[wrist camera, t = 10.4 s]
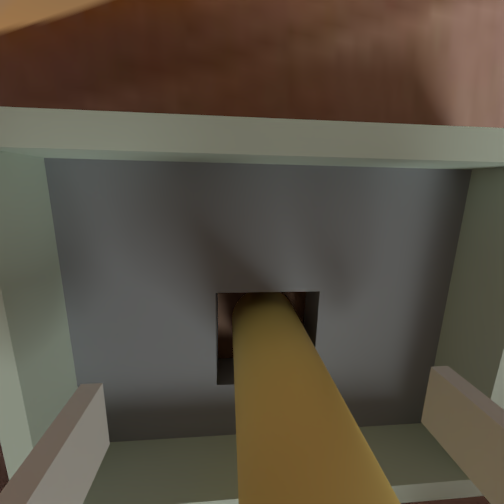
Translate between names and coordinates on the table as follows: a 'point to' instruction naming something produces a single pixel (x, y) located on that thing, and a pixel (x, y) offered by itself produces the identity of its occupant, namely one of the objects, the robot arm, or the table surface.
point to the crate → (242, 281)
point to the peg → (294, 416)
